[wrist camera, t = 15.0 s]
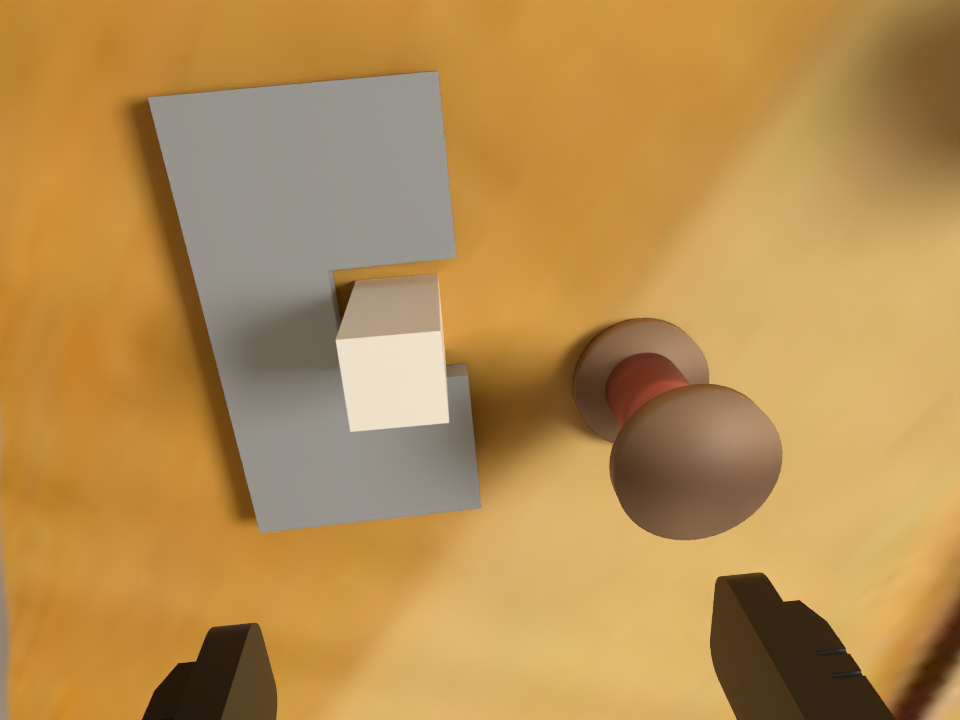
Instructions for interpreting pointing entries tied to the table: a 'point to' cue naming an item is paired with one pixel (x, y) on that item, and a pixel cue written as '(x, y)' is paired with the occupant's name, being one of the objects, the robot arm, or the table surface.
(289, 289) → the notched board
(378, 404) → the block
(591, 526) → the table surface
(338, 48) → the table surface
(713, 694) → the table surface
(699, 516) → the spool
